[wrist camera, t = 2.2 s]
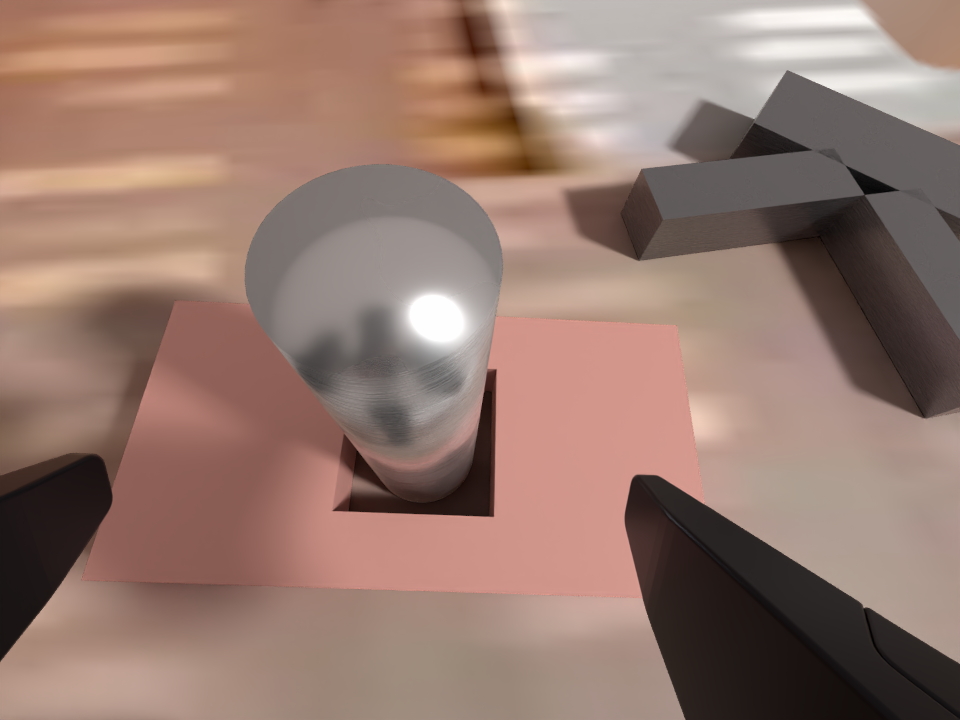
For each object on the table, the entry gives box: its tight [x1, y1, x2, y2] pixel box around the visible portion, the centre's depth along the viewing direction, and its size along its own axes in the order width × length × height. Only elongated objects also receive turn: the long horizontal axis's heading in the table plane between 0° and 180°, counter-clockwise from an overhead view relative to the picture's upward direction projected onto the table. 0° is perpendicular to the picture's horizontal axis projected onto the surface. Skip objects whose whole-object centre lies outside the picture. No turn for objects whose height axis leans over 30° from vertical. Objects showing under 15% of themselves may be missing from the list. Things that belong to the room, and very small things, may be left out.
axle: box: [245, 164, 503, 503], centre depth 13 cm, size 4×4×13 cm
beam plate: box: [81, 300, 705, 598], centre depth 18 cm, size 20×10×2 cm, turn 88°
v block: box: [621, 70, 960, 418], centre depth 24 cm, size 13×18×3 cm
